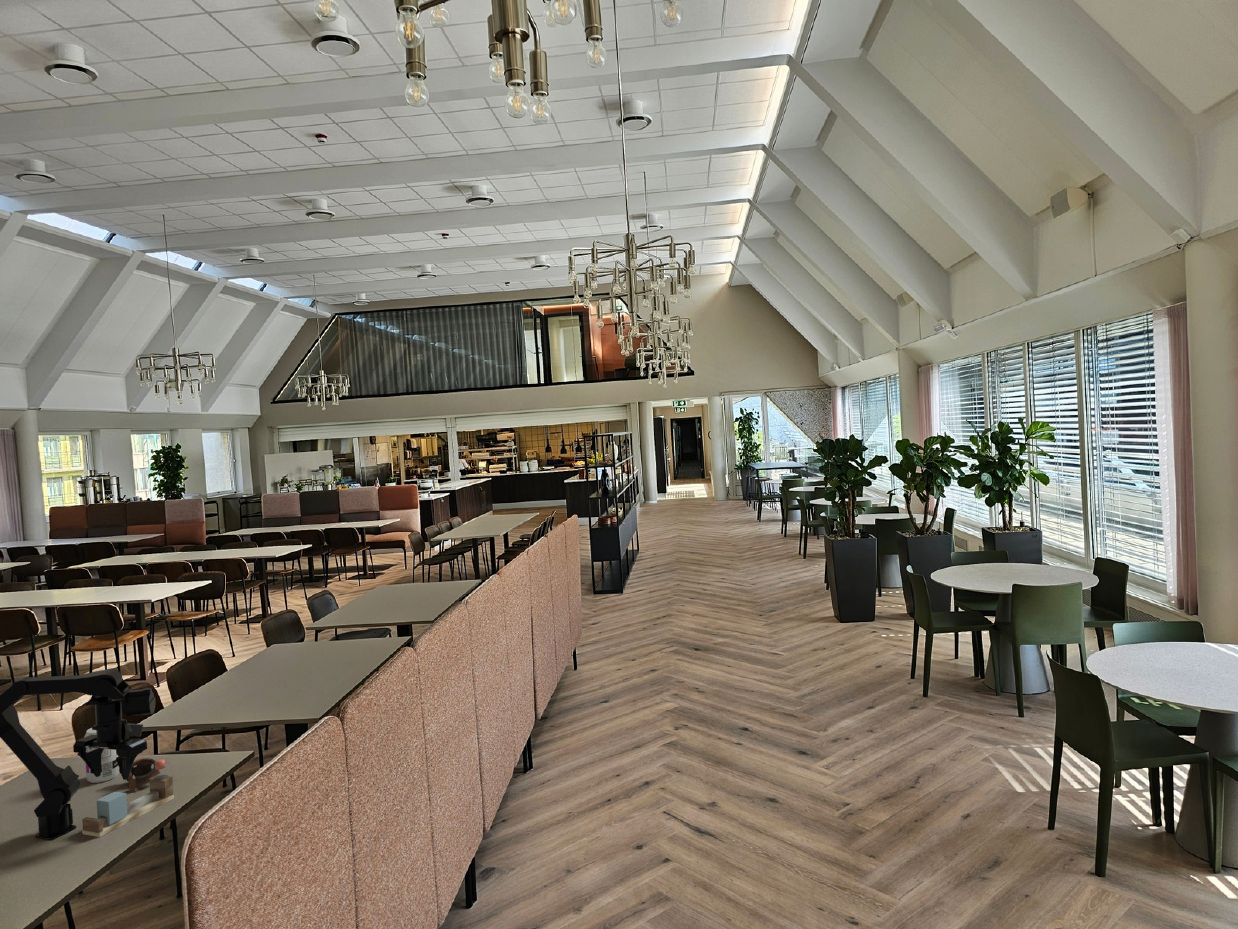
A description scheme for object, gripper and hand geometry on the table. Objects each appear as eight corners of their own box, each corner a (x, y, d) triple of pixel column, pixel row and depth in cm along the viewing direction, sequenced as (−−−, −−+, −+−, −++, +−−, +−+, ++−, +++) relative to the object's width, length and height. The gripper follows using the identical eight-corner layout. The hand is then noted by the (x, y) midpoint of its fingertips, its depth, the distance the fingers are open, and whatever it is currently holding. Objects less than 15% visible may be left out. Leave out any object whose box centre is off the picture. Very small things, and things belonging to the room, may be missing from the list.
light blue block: (110, 825, 198) (108, 802, 198) (97, 823, 199) (96, 800, 199) (127, 815, 203) (126, 793, 203) (115, 814, 204) (114, 791, 204)
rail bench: (100, 837, 194) (98, 813, 194) (82, 834, 196) (81, 810, 196) (175, 797, 216) (174, 775, 216) (159, 795, 218) (158, 773, 218)
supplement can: (79, 782, 229) (77, 732, 228) (105, 771, 237) (103, 722, 236) (100, 785, 226) (97, 734, 226) (126, 773, 234) (123, 724, 234)
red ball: (159, 770, 213) (159, 763, 213) (153, 769, 214) (152, 762, 214) (167, 766, 216) (166, 759, 216) (160, 765, 216) (160, 758, 216)
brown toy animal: (168, 776, 232) (166, 757, 228) (149, 802, 224) (147, 784, 220) (128, 768, 232) (126, 749, 228) (108, 794, 223) (105, 775, 220)
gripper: (163, 710, 206) (166, 768, 207) (108, 706, 211) (111, 762, 212) (126, 725, 196) (129, 786, 196) (70, 721, 201) (73, 780, 201)
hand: (111, 778), depth 201 cm, fingers open, 9 cm apart
